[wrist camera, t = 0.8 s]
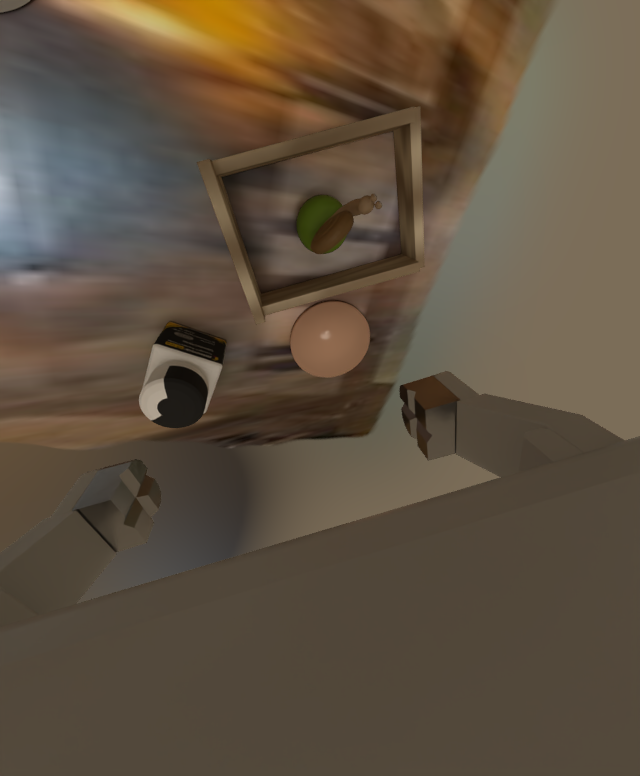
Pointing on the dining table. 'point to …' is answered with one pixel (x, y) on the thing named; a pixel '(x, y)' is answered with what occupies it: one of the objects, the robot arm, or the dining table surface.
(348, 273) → the cold frame
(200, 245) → the dining table surface
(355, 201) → the snail figurine
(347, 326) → the tan disc
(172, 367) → the medicine bottle
